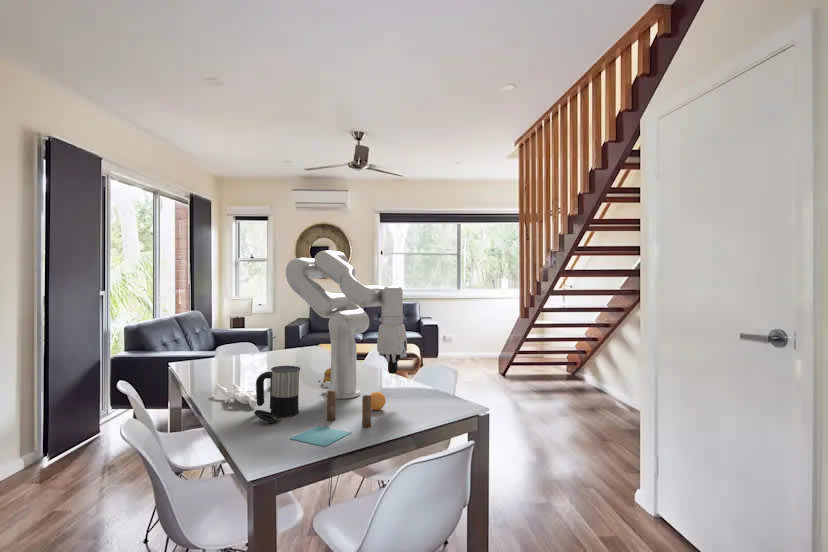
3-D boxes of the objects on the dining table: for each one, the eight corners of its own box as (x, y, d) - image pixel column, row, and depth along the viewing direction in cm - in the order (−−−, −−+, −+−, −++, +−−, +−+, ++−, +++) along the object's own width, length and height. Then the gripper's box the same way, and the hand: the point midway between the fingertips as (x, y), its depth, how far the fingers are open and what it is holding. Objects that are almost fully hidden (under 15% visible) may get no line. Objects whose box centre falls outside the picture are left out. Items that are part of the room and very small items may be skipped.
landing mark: (289, 438, 126) (289, 438, 126) (318, 426, 137) (318, 425, 137) (324, 446, 121) (324, 446, 121) (351, 433, 132) (351, 432, 132)
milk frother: (298, 408, 155) (298, 364, 155) (303, 422, 141) (304, 374, 141) (253, 412, 151) (254, 366, 151) (254, 427, 136) (254, 377, 136)
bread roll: (329, 388, 184) (329, 368, 184) (315, 384, 190) (316, 364, 190) (355, 383, 193) (355, 364, 193) (341, 379, 200) (341, 360, 200)
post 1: (325, 420, 143) (325, 391, 143) (330, 417, 145) (330, 389, 145) (332, 421, 142) (332, 392, 142) (337, 419, 144) (337, 390, 144)
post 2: (360, 427, 137) (360, 396, 137) (365, 424, 139) (365, 394, 139) (367, 428, 136) (368, 398, 136) (372, 426, 138) (372, 396, 138)
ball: (364, 410, 153) (364, 392, 153) (373, 406, 159) (373, 388, 159) (379, 413, 151) (379, 395, 151) (388, 408, 156) (388, 391, 156)
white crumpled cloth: (209, 400, 168) (239, 417, 150) (207, 385, 167) (237, 400, 149) (240, 391, 176) (271, 406, 158) (239, 376, 175) (270, 390, 157)
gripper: (368, 321, 163) (369, 373, 163) (405, 322, 156) (406, 376, 156) (379, 319, 170) (380, 369, 170) (415, 320, 163) (416, 372, 163)
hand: (392, 372), depth 163 cm, fingers closed
